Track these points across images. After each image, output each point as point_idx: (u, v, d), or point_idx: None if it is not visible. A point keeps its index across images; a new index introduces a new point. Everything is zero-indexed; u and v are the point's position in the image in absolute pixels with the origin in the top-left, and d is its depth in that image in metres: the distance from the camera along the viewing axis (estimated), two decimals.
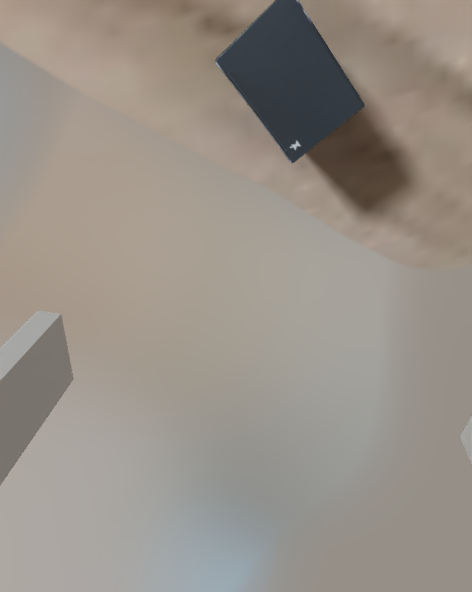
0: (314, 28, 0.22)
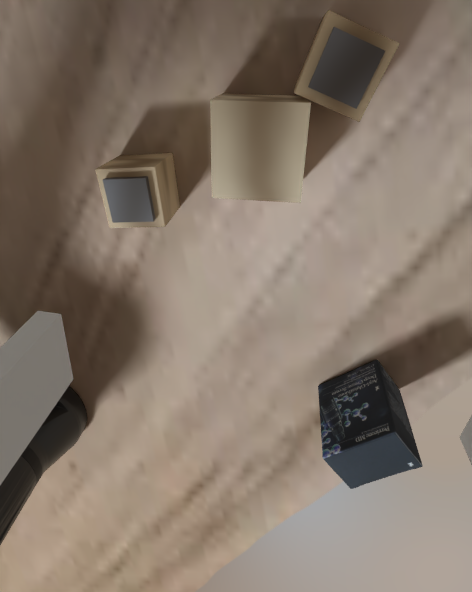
0: (345, 450, 0.38)
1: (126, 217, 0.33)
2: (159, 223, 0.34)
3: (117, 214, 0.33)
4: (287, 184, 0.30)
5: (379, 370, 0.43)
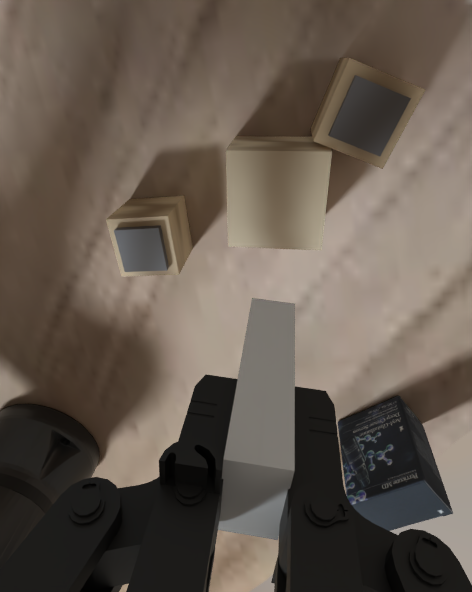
0: (371, 497, 0.36)
1: (139, 266, 0.32)
2: (173, 271, 0.33)
3: (129, 264, 0.32)
4: (307, 232, 0.29)
5: (402, 408, 0.41)
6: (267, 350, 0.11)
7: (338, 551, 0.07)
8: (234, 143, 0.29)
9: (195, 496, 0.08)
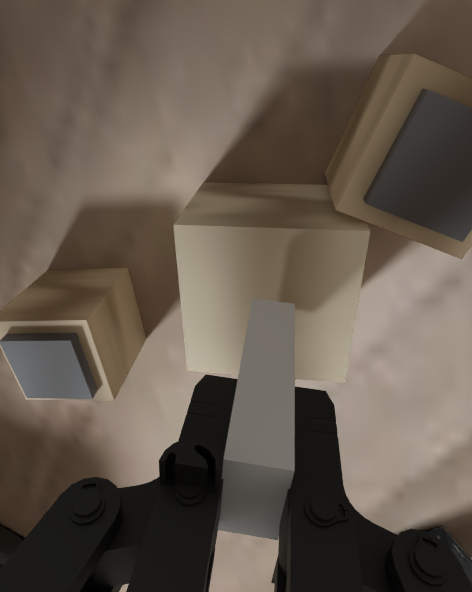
0: None
1: (47, 392, 0.20)
2: (104, 396, 0.20)
3: (32, 387, 0.20)
4: (321, 356, 0.17)
5: None
6: (267, 350, 0.11)
7: (338, 551, 0.07)
8: (195, 202, 0.17)
9: (195, 496, 0.08)
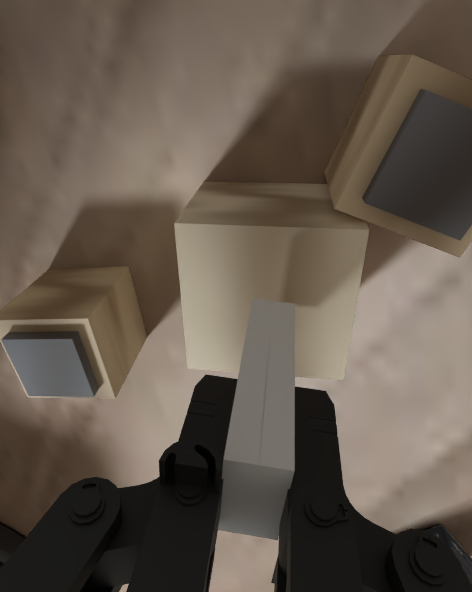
0: None
1: (49, 390, 0.20)
2: (106, 394, 0.21)
3: (34, 386, 0.20)
4: (320, 354, 0.17)
5: None
6: (267, 350, 0.11)
7: (338, 551, 0.07)
8: (195, 201, 0.17)
9: (195, 496, 0.08)
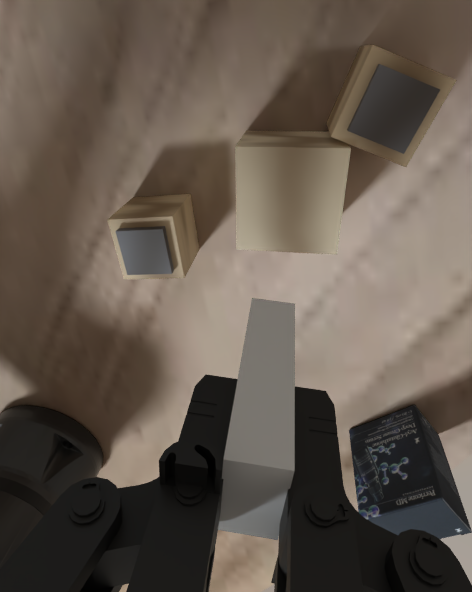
0: (384, 514, 0.35)
1: (142, 269, 0.30)
2: (178, 274, 0.31)
3: (132, 266, 0.30)
4: (322, 235, 0.27)
5: (418, 418, 0.39)
6: (267, 350, 0.11)
7: (338, 551, 0.07)
8: (244, 138, 0.27)
9: (195, 496, 0.08)
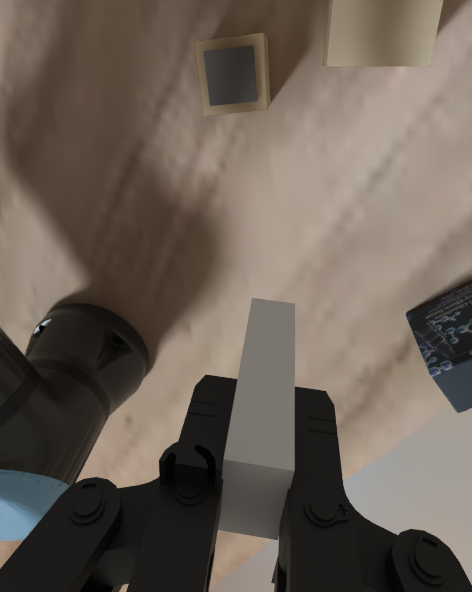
0: (458, 365, 0.35)
1: (226, 98, 0.30)
2: (261, 106, 0.31)
3: (216, 95, 0.30)
4: (417, 43, 0.27)
5: None
6: (267, 350, 0.11)
7: (338, 551, 0.07)
8: None
9: (195, 496, 0.08)
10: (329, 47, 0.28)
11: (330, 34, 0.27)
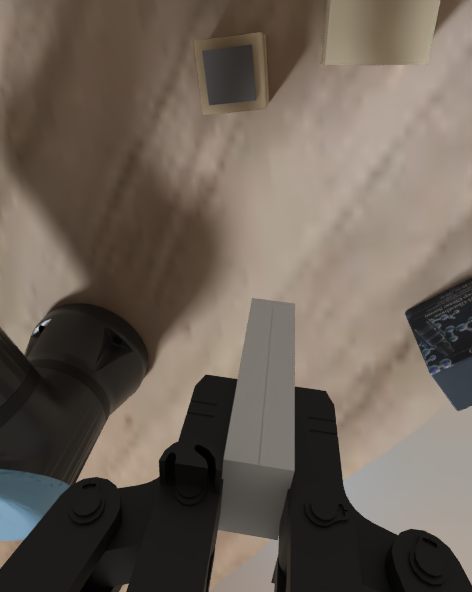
0: (457, 363, 0.35)
1: (225, 97, 0.30)
2: (259, 105, 0.31)
3: (215, 94, 0.30)
4: (414, 41, 0.27)
5: None
6: (267, 350, 0.11)
7: (338, 551, 0.07)
8: None
9: (195, 496, 0.08)
10: (327, 46, 0.28)
11: (328, 33, 0.27)
